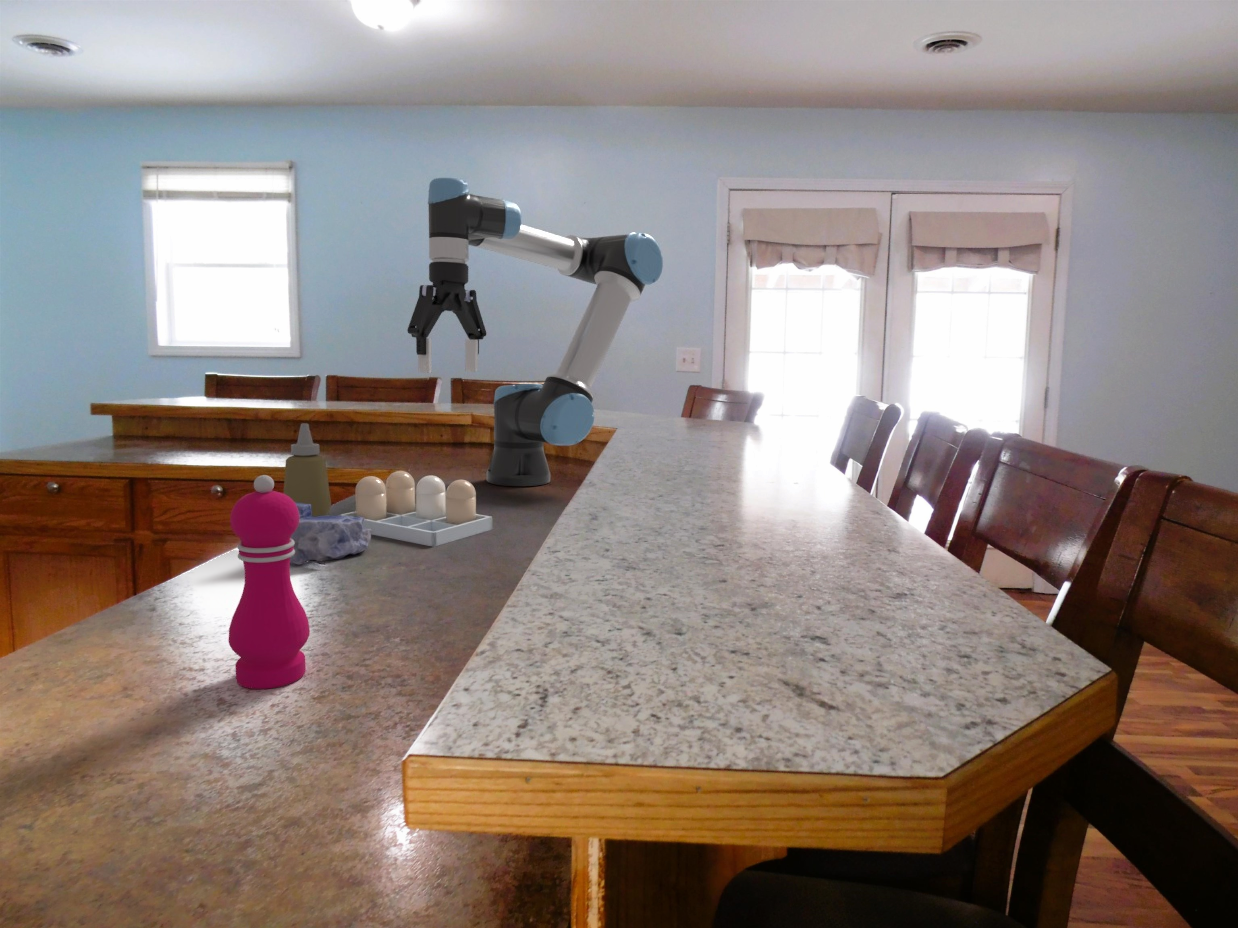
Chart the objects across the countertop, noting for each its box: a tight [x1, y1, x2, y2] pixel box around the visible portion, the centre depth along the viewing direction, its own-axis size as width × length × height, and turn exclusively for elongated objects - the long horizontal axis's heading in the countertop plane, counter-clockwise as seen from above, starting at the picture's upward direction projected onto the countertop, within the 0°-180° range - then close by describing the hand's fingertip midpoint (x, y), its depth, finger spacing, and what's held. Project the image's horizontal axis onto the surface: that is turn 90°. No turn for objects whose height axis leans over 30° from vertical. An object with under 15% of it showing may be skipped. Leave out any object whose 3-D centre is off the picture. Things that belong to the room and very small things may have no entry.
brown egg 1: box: [355, 475, 386, 521], centre depth 136 cm, size 5×5×9 cm
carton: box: [337, 503, 494, 548], centre depth 136 cm, size 15×22×3 cm
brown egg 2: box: [385, 470, 416, 515], centre depth 142 cm, size 5×5×9 cm
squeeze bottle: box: [282, 423, 332, 517], centre depth 138 cm, size 8×8×18 cm
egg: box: [415, 474, 447, 520], centre depth 138 cm, size 5×5×9 cm
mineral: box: [290, 503, 372, 566], centre depth 118 cm, size 14×10×10 cm
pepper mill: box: [228, 474, 310, 690], centre depth 76 cm, size 7×7×20 cm
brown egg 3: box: [445, 479, 477, 525], centre depth 135 cm, size 5×5×9 cm
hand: (449, 372), depth 157 cm, fingers open, 13 cm apart
